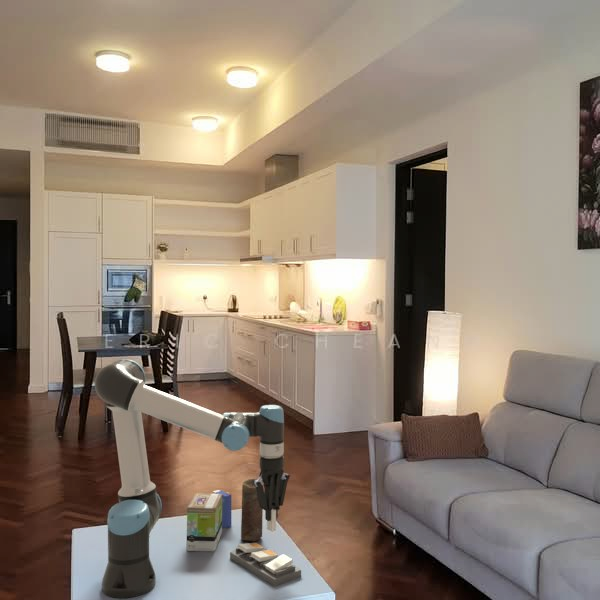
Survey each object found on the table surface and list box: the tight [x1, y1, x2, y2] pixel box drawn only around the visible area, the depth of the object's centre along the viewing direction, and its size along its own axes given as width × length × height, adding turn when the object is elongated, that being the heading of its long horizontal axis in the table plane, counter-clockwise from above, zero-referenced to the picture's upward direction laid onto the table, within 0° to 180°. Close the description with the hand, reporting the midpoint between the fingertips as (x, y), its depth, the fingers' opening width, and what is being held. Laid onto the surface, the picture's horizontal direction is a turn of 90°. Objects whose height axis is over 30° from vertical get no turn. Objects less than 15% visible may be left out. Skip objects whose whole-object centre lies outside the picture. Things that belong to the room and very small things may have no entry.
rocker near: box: [265, 553, 294, 574], centre depth 191 cm, size 7×5×1 cm, turn 129°
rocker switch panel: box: [229, 547, 302, 587], centre depth 197 cm, size 10×24×3 cm, turn 39°
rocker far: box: [237, 542, 265, 553], centre depth 203 cm, size 7×5×1 cm, turn 129°
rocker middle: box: [251, 549, 279, 562], centre depth 197 cm, size 7×5×1 cm, turn 129°
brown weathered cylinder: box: [240, 478, 264, 542], centre depth 218 cm, size 8×7×20 cm
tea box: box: [185, 492, 223, 552], centre depth 216 cm, size 15×10×15 cm
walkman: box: [211, 489, 232, 529], centre depth 232 cm, size 8×3×12 cm, turn 46°
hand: (271, 529), depth 199 cm, fingers closed
